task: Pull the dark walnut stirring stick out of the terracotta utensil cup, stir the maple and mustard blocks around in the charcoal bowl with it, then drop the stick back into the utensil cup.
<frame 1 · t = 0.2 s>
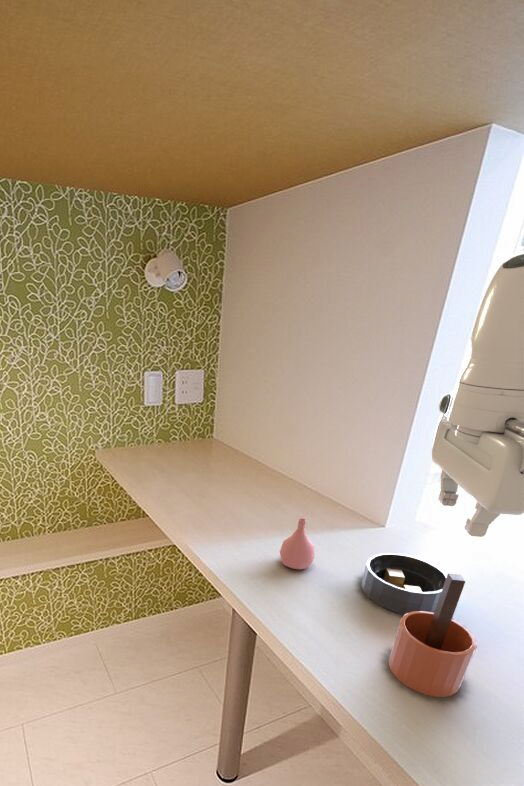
hand: (458, 517, 57), 29 cm above the table, tool pointing down, fingers open, 8 cm apart
maple block: (392, 584, 93), point 1 cm above the table, touching bowl
mustard block: (409, 602, 87), point 1 cm above the table, touching bowl
stirring stick: (423, 671, 70), point 1 cm above the table, touching holder
pink teardrop shaped piece: (294, 567, 100), on the table
holder: (421, 675, 70), on the table
bowl: (399, 596, 90), on the table
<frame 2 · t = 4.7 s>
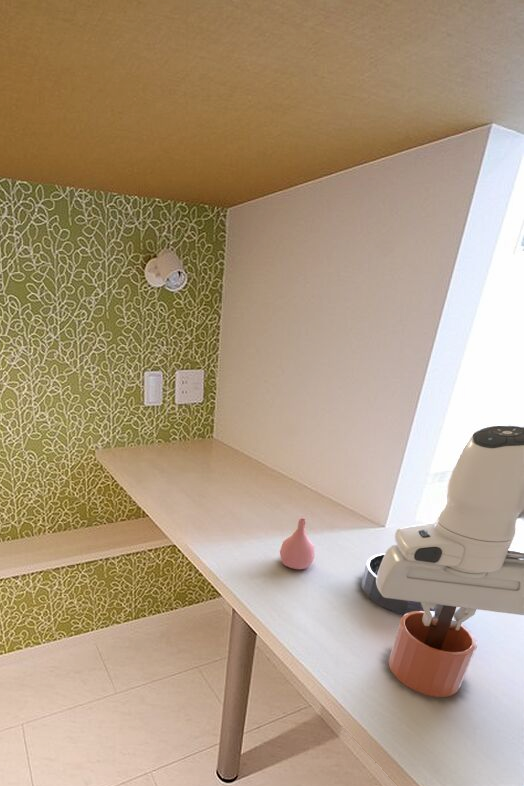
hand: (439, 625, 66), 10 cm above the table, tool pointing down, fingers closed on stirring stick, 2 cm apart
stirring stick: (423, 671, 70), point 1 cm above the table, touching gripper, holder
everything else where it was.
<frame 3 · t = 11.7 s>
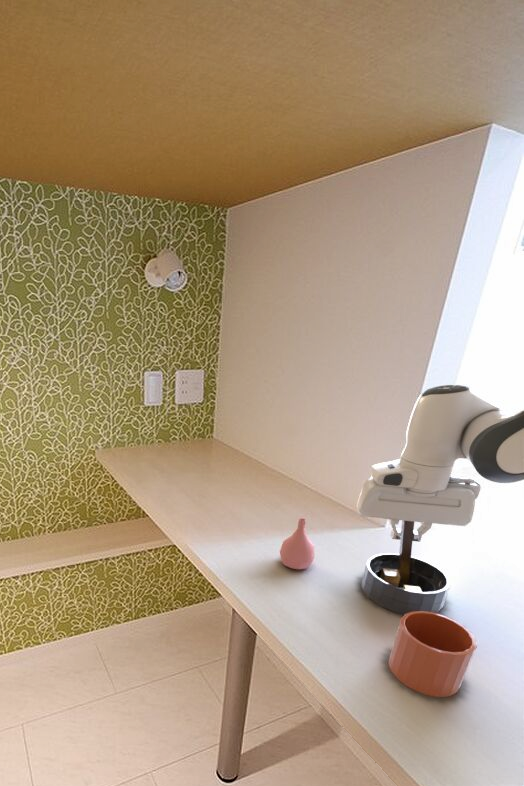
hand: (404, 539, 88), 12 cm above the table, tool pointing down, fingers closed on stirring stick, 2 cm apart
maple block: (388, 584, 93), point 1 cm above the table, touching bowl, stirring stick
stirring stick: (402, 579, 92), point 2 cm above the table, tilted 9°, touching gripper, maple block
everything else where it was.
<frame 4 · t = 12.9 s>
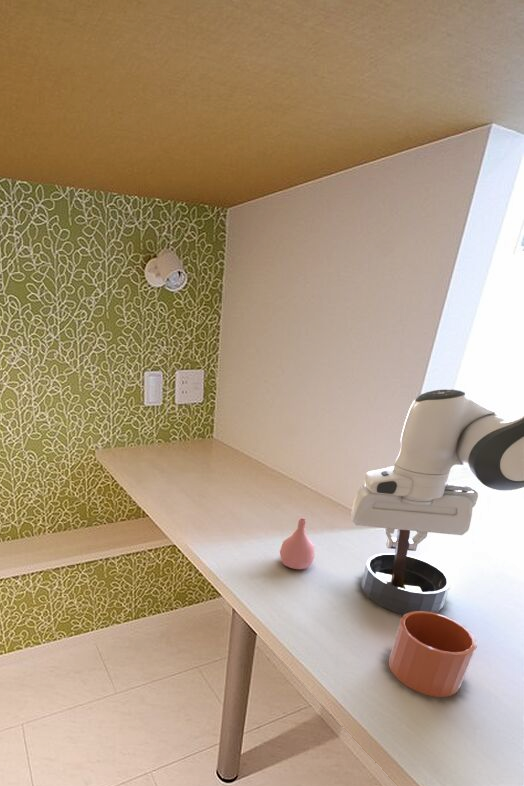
hand: (400, 548, 85), 11 cm above the table, tool pointing down, fingers closed on stirring stick, 2 cm apart
maple block: (380, 588, 91), point 1 cm above the table, touching bowl, stirring stick
stirring stick: (396, 588, 89), point 2 cm above the table, tilted 7°, touching gripper, maple block
everything else where it was.
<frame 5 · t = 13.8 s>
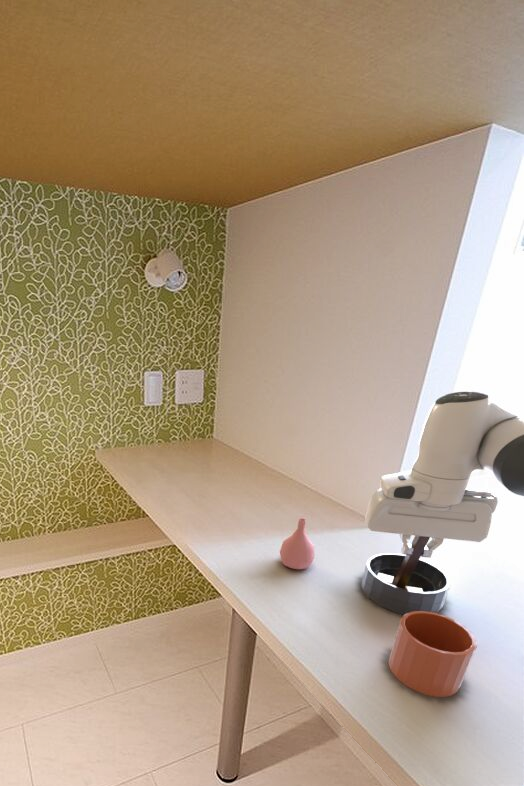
hand: (415, 554, 83), 12 cm above the table, tool pointing down, fingers closed on stirring stick, 2 cm apart
maple block: (382, 589, 91), point 1 cm above the table, touching bowl
mustard block: (411, 603, 87), point 1 cm above the table, touching bowl, stirring stick
stirring stick: (397, 589, 89), point 2 cm above the table, tilted 10°, touching gripper, mustard block
everything else where it was.
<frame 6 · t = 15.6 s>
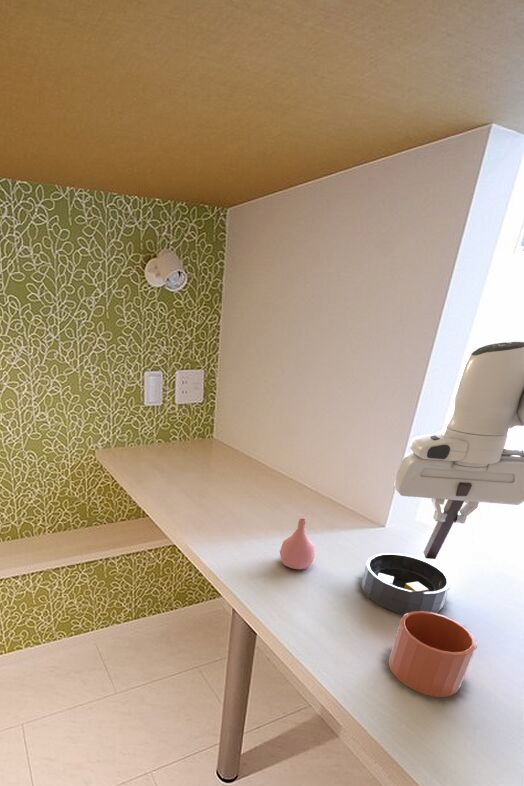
hand: (448, 521, 79), 19 cm above the table, tool pointing down, fingers closed on stirring stick
mustard block: (413, 598, 88), point 1 cm above the table, touching bowl
stirring stick: (429, 555, 86), point 10 cm above the table, tilted 16°, touching gripper
everything else where it was.
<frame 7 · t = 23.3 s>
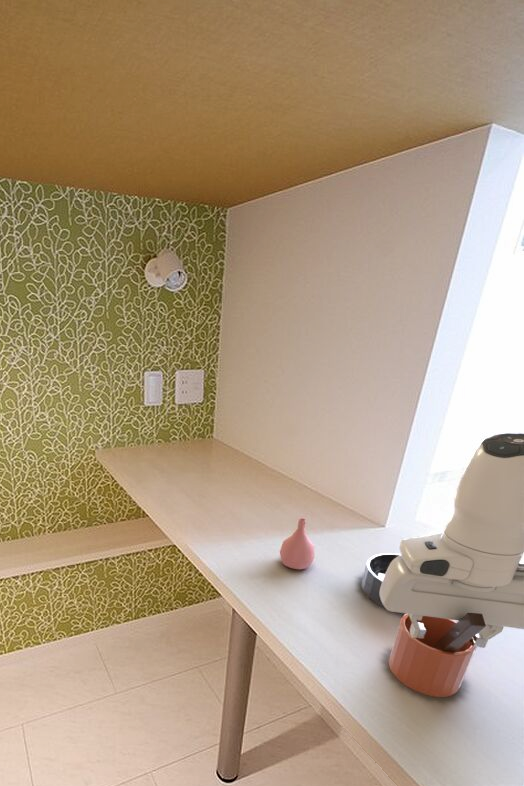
hand: (445, 639, 63), 10 cm above the table, tool pointing down, fingers open, 7 cm apart
stirring stick: (422, 667, 70), point 1 cm above the table, tilted 27°, touching holder
everything else where it was.
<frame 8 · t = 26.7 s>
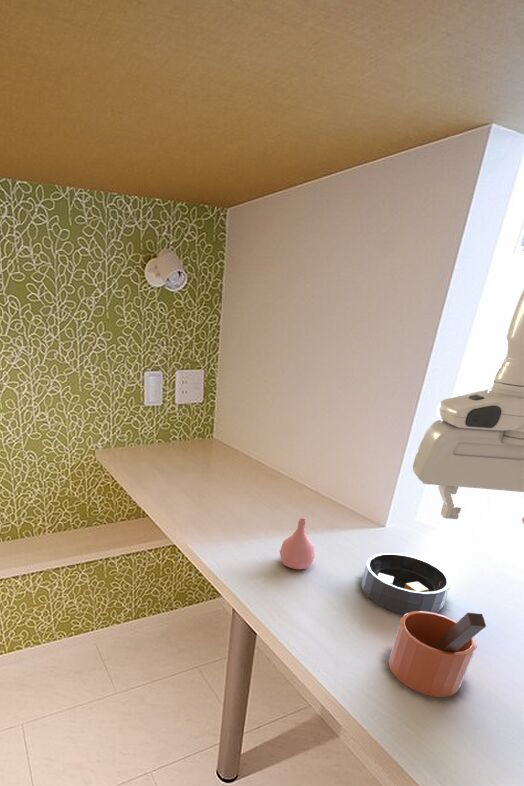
hand: (489, 521, 55), 29 cm above the table, tool pointing down, fingers open, 8 cm apart
nothing on the table moved.
at the end: maple block moved 3.7 cm from its start; maple block inside the target area in the bowl (3.6 cm from its centre), point 0.8 cm above the bowl's base; stirring stick inside the target area in the holder (0.6 cm from its centre), point 1.2 cm above the holder's base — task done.
